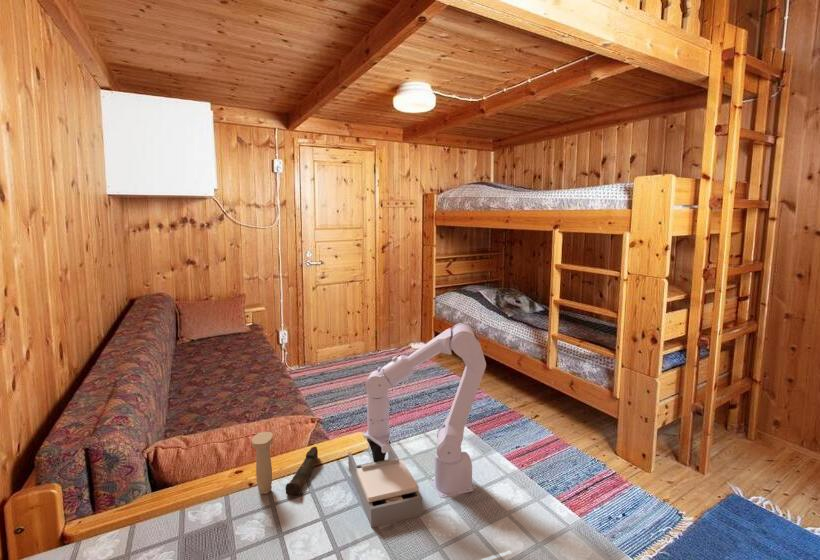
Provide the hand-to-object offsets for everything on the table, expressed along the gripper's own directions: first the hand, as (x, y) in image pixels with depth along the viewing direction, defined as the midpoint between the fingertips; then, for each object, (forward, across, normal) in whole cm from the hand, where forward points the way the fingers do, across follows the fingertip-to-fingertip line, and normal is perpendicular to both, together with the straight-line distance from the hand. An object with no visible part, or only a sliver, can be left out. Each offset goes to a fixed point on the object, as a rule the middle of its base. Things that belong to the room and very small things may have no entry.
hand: (378, 464), depth 114 cm
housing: (+6, +3, 0) cm, 7 cm away
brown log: (+6, -11, -19) cm, 23 cm away
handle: (+6, -7, -29) cm, 31 cm away
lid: (+1, +7, 0) cm, 7 cm away
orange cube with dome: (+5, +12, 0) cm, 14 cm away
